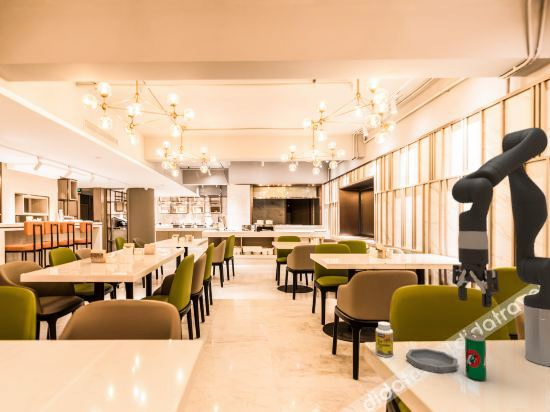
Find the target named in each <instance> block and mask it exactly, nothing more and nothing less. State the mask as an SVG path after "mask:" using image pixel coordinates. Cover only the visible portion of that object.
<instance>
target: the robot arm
mask: <svg viewBox="0 0 550 412" xmlns="http://www.w3.org/2000/svg"><path fill="white" fill-rule="evenodd" d="M548 144H549V143H548V135H547V133H546V132H545V130H543V129H542V128H541V127H528V128H525V129H520V130H516V131H513V132H510V133H509V132H508V133H506V134H505V135H504V136H503V138H502V142H501V150H502V153H500V154H498V155H496V156H494V157H492V158H490V159H489V160H487V161H486V162H485V163H483V164H482V165H481V166H480V167H479V168H478V169H477V170H475V171H473V172H471V173H469V174H467V175H465V176H463V177H462V178H459V180H457V181H456V182H455V183H453V184H454V185H453V187H452V189H451V196H452V199H453V200H454V201H455V202H457V203H460V204H471V206H470V208H469V209H468V210H465V211H462V212H460V213H459V215H458V240H457V245H458V262H459V263H460V264H453V265H452V280H451V282H452V284H453V285H456V287H457V291H458V293H457V294H458V296H457V297H458V300H459V301H463V302H464V301H467V300H468V293H467V292H468V288H467V286H468V285H469V283H472V284H476V286H477V287H478V288H479V289H480V290H481V305H482V307H483V308H491V307H492V304H493V302H492V301H493V300H492V299H493V296H492V295H493V294H495V293H499V275H498V270H496V269H488V268H487V265H488V264H489V261H490V258H489V254H490V253H489V238H488V237H489V236H488V221H487V220H488V215H489V212H490V211H489V210H490V207H491V203H492V200H493V196H494V188H495V187H496V186H498V185H499V184H501V182H502V181H503V180H505V179H506V178H507V177H508V178H507V179H508V185H509V192H510V203H511V213H512V214H511V215H512V219H513V227H514V228H513V229H514V236H515V237H514V238H515V270H516V274H517V278H519V280H520V281H521V282H522V283H524V284H525V283H526V284H530V285H535V286H539V291H538V292H536V293H533V294H527V295H526V294H525V295H524V296H523V313H524V315H523V316H524V318H523V319H524V321H523V322H524V349H525V350H524V352H525V353H524V354H525V358H526V359H527V360H528V361H530V362H531V363H534V364H538V365H541V366H547V367H550V257H546V256H545V257H543V256H536V254H535V242H536V239H537V237H538V235H539V233H540V232H541V230H542V229H543V227H544V226H545V224H546V221H547V219H548V216H549V215H548V206H547V205H548V204H547V197H546V195H545V193H544V191H543V190H542V189H541V188H540V187H539V186H538V184H537V183H536V182H535V181H533V179H531V177H530V176H529V175H528V173H527V170H526V169H525V165H524V164H526V163H527V162H529V161H530V160H532V159H534V158H536V157H538V156H540V155H541V154H543V152H545V151H546V149H547V148H548Z"/></svg>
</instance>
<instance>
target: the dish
mask: <svg viewBox="0 0 550 412" xmlns="http://www.w3.org/2000/svg"><path fill="white" fill-rule="evenodd" d="M405 358H406V359H407V362H408V363H409V365H411V366H413V367H414V368H417V369H419V370H422V369H423V370H422V371H425V370H426V372H429V373H436V374H449V373H454V372H456V371H457V370H458V360H459V359H458V358H456V357H454V356H452V355H450V354H448V353H447V352H445V351H441V350H435V349H429V348H414V349H412V348H411V349H409V350H408V352H406V354H405Z"/></svg>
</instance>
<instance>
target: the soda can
mask: <svg viewBox="0 0 550 412" xmlns="http://www.w3.org/2000/svg"><path fill="white" fill-rule="evenodd" d="M486 343H487V341H486V339H485V335H484V334H482V333H479V332H478V333H477V332H473V331H471V332H470V331H469V332H466V334H465V336H464V354H465V363H464V364H465V375H466V377H468V379H471V380H473V381H478V382H483V381H485V380H486V379H487V348H486V347H487V344H486Z"/></svg>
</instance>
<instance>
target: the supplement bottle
mask: <svg viewBox="0 0 550 412" xmlns="http://www.w3.org/2000/svg"><path fill="white" fill-rule="evenodd" d="M377 323H378V324H377V325H378V326H377V327H376V328H375V353H376V355H378V356H380V357H383V358H390V357H392V356H393V355H394V330H393V329H391V323H390V322H387V321H378V322H377Z"/></svg>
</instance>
